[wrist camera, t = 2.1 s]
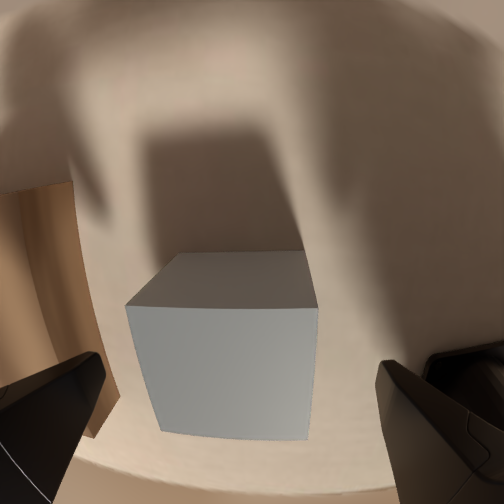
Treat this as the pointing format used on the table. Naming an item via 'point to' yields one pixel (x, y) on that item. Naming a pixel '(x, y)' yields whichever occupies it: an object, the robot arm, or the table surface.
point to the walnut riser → (46, 291)
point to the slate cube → (229, 344)
